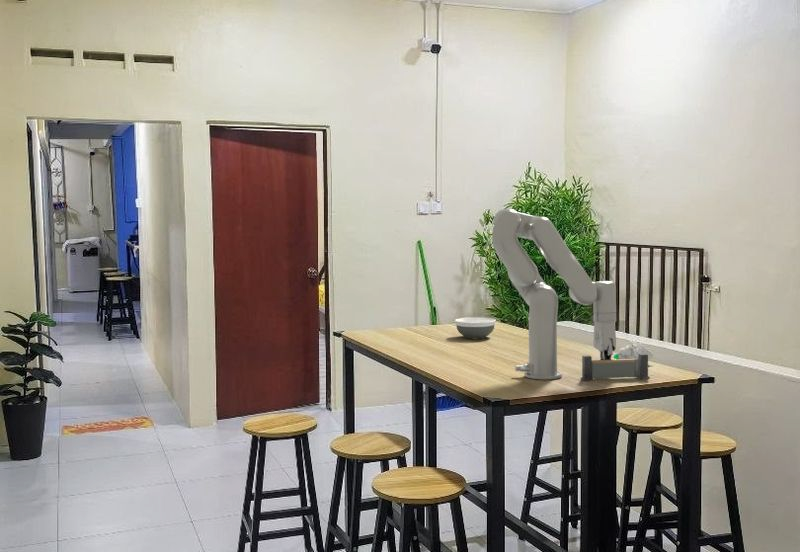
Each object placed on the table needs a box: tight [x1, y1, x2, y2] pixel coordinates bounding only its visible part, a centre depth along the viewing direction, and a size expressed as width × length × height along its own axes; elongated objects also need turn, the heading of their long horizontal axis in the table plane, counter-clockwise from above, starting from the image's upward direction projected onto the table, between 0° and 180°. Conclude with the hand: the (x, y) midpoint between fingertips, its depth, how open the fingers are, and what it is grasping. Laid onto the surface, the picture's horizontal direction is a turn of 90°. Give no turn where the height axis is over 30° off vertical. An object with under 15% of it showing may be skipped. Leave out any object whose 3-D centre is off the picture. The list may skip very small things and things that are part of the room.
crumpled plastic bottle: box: [613, 340, 655, 361], centre depth 291 cm, size 12×9×10 cm
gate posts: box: [580, 353, 650, 382], centre depth 267 cm, size 23×3×8 cm, turn 96°
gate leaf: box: [592, 359, 639, 380], centre depth 267 cm, size 16×1×6 cm, turn 96°
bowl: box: [454, 316, 497, 339], centre depth 363 cm, size 19×19×8 cm
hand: (605, 370), depth 273 cm, fingers closed
